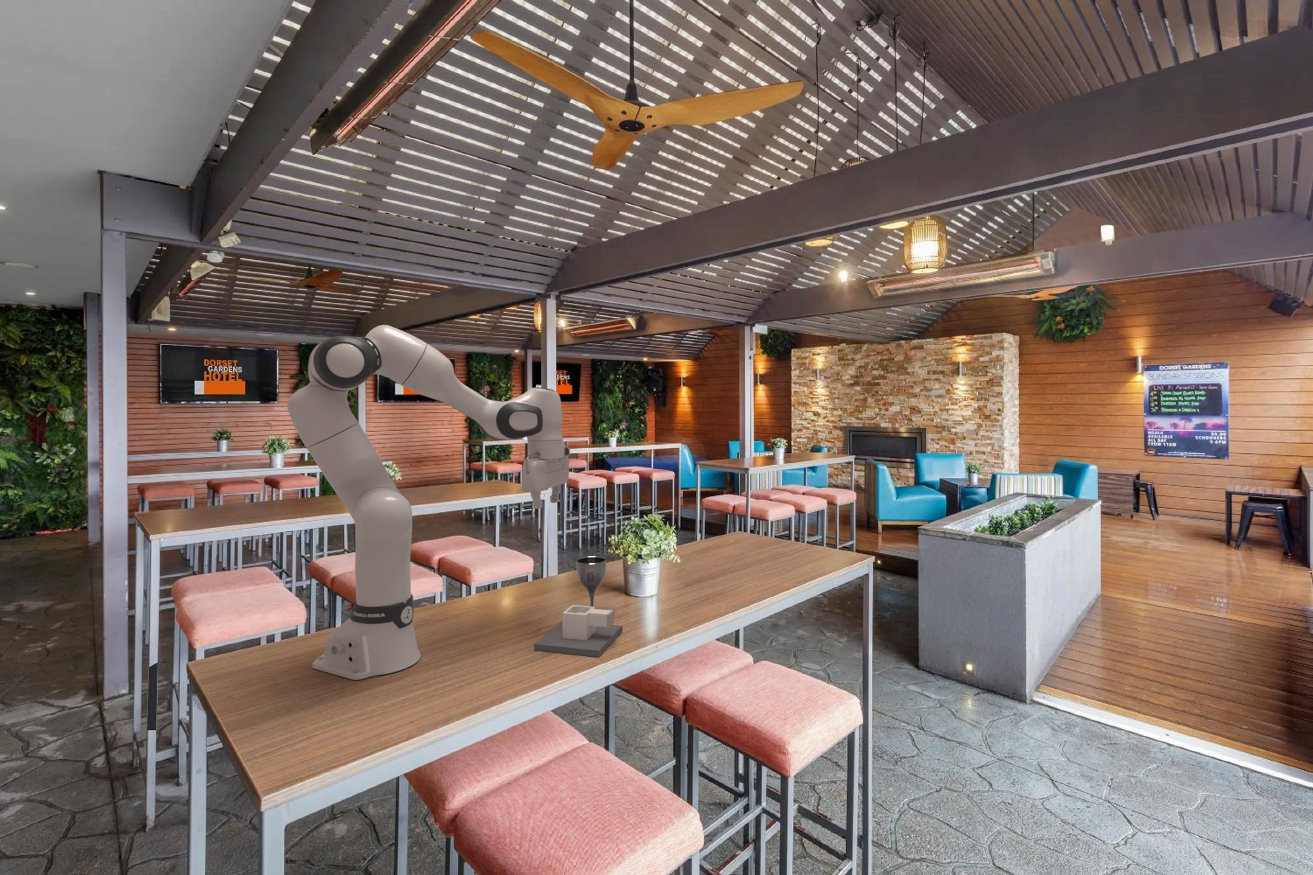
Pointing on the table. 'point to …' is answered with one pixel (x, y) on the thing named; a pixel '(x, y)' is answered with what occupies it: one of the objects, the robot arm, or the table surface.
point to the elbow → (584, 621)
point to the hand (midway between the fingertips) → (546, 505)
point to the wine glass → (591, 573)
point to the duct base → (578, 641)
